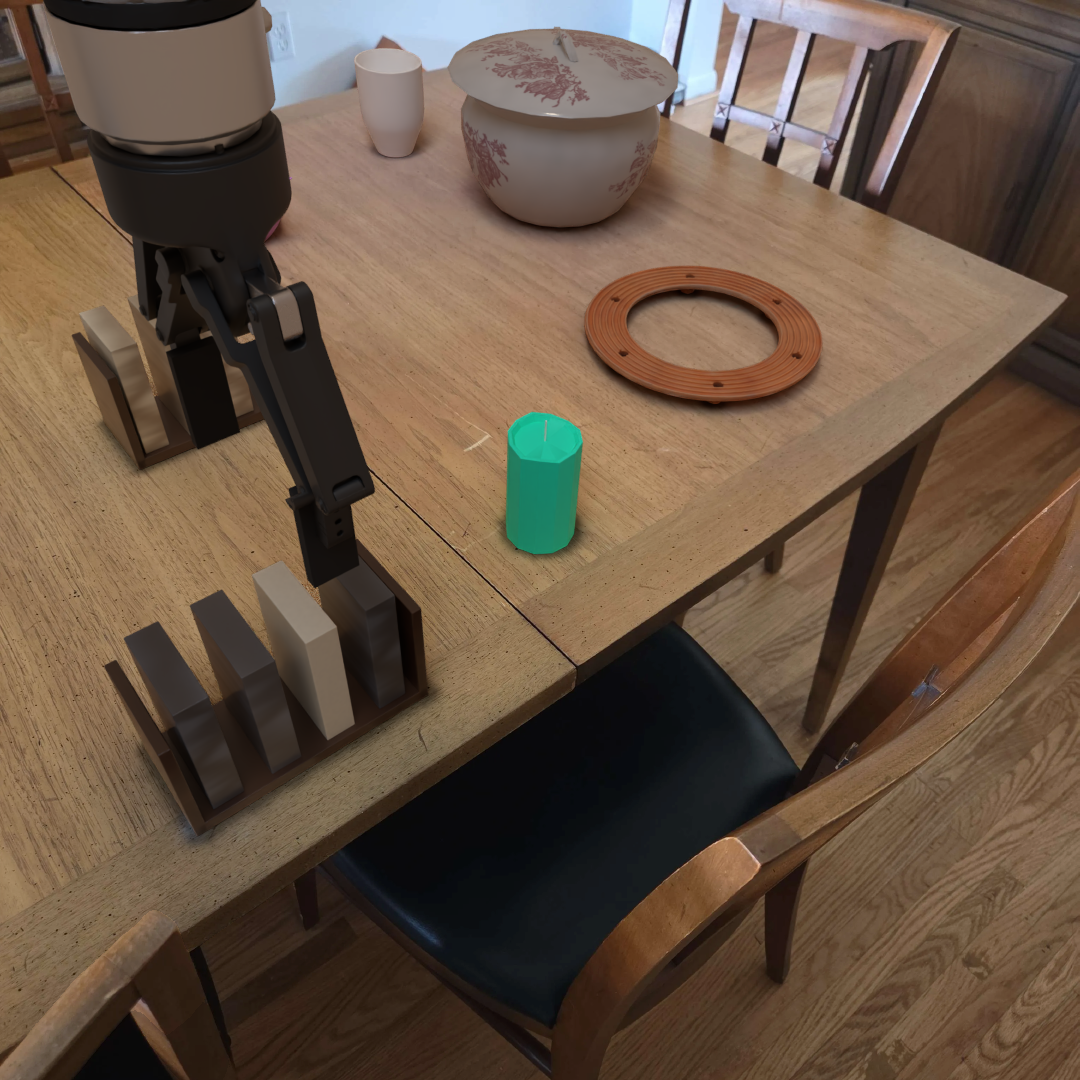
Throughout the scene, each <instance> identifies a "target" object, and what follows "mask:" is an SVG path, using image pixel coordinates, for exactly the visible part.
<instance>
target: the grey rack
mask: <svg viewBox="0 0 1080 1080" xmlns="http://www.w3.org/2000/svg"><path fill="white" fill-rule="evenodd" d="M356 543H357V550H358V557H359V564H360V565H359V566H357V567H355V568H353V569H351V570H349V571H347V572H345V573H343V574H342V575H340V576H338V577H336V578H334V579H332V580H330V581H328V582H326V583H324V584H322V585H320V586H318V587H317V590H318V596H319V600H320V607H321V608H322V609H323V611H324V612H325V613H326V614H327V615H328V617H329V618H330V619H331V620H332V621H333V623H334V624H335V625H336V626H337V631H338V636H339V642H340V647H341V652H342V658H343V663H344V668H345V674H346V679H347V684H348V690H349V695H350V700H351V706H352V711H353V716H354V722H355V724H354V725H352V726H351V727H349V728H348V729H346V730H344V731H343V732H341V733H339V734H338V735H336V736H334V737H333V738H331V739H329V740H327V739H326V738H325V736H324V735H323V734H322V732H321V731H320V729H319V728H318V727H317V725H316V724H315V723H314V721H313V720H312V719H311V717H310V716H309V715H308V713H307V712H306V711H305V709H304V708H303V707H302V705H301V704H300V703H299V701H298V700H297V698H296V697H295V696H294V694H293V693H292V692H291V690H290V689H289V688H288V686H287V685H286V684H285V682H284V681H283V680H282V678H281V677H280V676H279V673H278V669H277V665H276V662H275V659H274V656H273V654H271V653H270V651H269V650H268V649H267V647H266V646H265V645H264V643H263V642H262V640H261V639H260V638H259V636H258V635H257V634H256V632H255V631H254V630H253V628H252V627H251V626H250V625H249V623H248V622H247V620H246V619H245V618H244V617H243V615H242V614H241V613H240V611H239V610H238V609H237V607H236V606H235V605H234V603H233V601H232V600H231V599H230V597H229V596H228V595H227V593H226V592H225V590H223V589H220V590H219V589H218V591H215V592H213V593H211V594H210V595H207V596H205V597H203V598H201V599H199V600H197V601H195V602H193V603H190V604H189V609H190V611H191V614H192V617H193V620H194V622H195V625H196V628H197V631H198V633H199V636H200V639H201V642H202V644H203V647H204V650H205V653H206V655H207V658H208V661H209V664H210V667H211V669H212V672H213V675H214V677H215V680H216V683H217V686H218V689H219V692H220V694H221V697H222V699H221V700H219V701H217V702H215V703H214V704H213V703H212V701H211V699H210V695H209V694H208V693H207V692H206V689H204V686H203V685H202V684H201V683H200V681H199V680H198V677H196V675H195V673H194V672H193V671H192V669H191V667H190V666H189V664H188V663H187V661H186V660H185V658H184V656H183V655H182V654H181V652H180V651H179V650H178V648H177V647H176V645H175V643H174V642H173V641H172V639H171V638H170V636H169V635H168V633H167V632H166V630H165V629H164V627H163V625H162V624H161V622H160V621H158V620H157V621H154V622H153V623H150V624H148V625H147V626H144V627H143V628H140V629H139V630H136V631H134V632H132V633H129V634H128V635H126V636H124V637H123V641H124V644H125V645H126V648H127V650H128V652H129V654H130V656H131V658H132V660H133V663H134V665H135V667H136V669H137V672H138V673H139V676H140V678H141V681H142V682H143V685H144V686H145V689H146V690H147V693H148V695H149V697H150V700H151V701H152V704H153V706H154V708H155V710H156V712H157V714H158V717H159V719H160V721H161V723H162V725H163V728H164V729H165V730H164V731H163V732H161V730H160V728H159V727H158V725H157V724H156V722H155V720H154V719H153V716H152V715H151V714H150V712H149V710H148V709H147V707H146V705H145V704H144V702H143V700H142V699H141V697H140V696H139V694H138V692H137V690H136V689H135V688H134V685H133V684H132V683H131V680H130V679H129V678H128V676H127V674H126V673H125V671H124V669H123V668H122V666H121V664H120V663H119V661H118V660H117V659H114V660H111V661H110V662H108V663H106V664H104V665H103V667H104V670H105V671H106V673H107V675H108V677H109V679H110V681H111V684H112V686H113V688H114V689H115V692H116V693H117V695H118V697H119V700H120V701H121V703H122V705H123V707H124V709H125V712H126V714H127V715H128V717H129V719H130V722H131V724H132V725H133V727H134V729H135V732H136V733H137V735H138V737H139V739H140V741H141V743H142V745H143V747H144V749H145V751H146V753H147V755H148V756H149V758H150V760H151V762H152V763H153V765H154V766H155V768H156V769H157V772H158V773H159V775H160V776H161V778H162V780H163V782H164V783H165V785H166V787H167V788H168V790H169V792H170V794H171V795H172V797H173V799H174V801H175V802H176V804H177V805H178V807H179V809H180V810H181V812H182V814H183V816H184V817H185V819H186V820H187V822H188V824H189V826H190V828H191V829H192V830H193V832H194V834H195V836H196V837H200V836H201V835H203V834H204V833H206V832H207V831H210V830H211V829H212V828H215V827H216V826H217V825H219V824H220V823H222V822H224V821H225V820H227V819H229V818H230V817H232V816H234V815H235V814H237V813H239V812H240V811H242V810H244V809H245V808H247V807H248V806H250V805H251V804H254V803H255V802H257V801H258V800H260V799H262V798H263V797H265V796H266V795H268V794H270V793H271V792H272V791H274V790H276V789H278V788H279V787H280V786H282V785H284V784H286V783H288V782H289V781H291V780H292V779H293V778H295V777H297V776H299V775H300V774H302V773H303V772H305V771H307V770H309V769H310V768H312V767H313V766H315V765H317V764H318V763H320V762H321V761H323V760H325V759H327V758H328V757H329V756H331V755H333V754H335V753H337V752H338V751H339V750H341V749H342V748H344V747H346V746H347V745H350V744H351V743H352V742H354V741H356V740H357V739H359V738H361V737H363V735H366V734H368V732H370V731H372V730H374V729H375V728H377V727H378V726H380V725H382V724H383V723H385V722H387V721H388V720H389V719H392V718H393V717H394V716H396V715H398V714H399V713H402V712H403V711H404V710H406V709H408V708H409V707H411V706H412V705H414V704H416V703H418V702H419V701H421V700H422V699H424V698H426V697H427V696H429V686H428V674H427V663H426V662H427V661H426V651H425V650H426V649H425V638H424V623H423V612H422V607H421V606H420V605H419V604H418V603H417V601H415V600H414V599H413V598H412V596H411V595H410V594H409V593H408V592H407V591H406V590H405V589H404V587H403V586H402V585H401V584H400V583H399V582H398V581H397V580H396V578H394V577H393V576H392V574H390V572H389V571H388V570H387V569H386V568H385V567H384V566H383V565H382V563H380V561H379V560H378V559H377V558H376V557H375V556H374V555H373V553H371V552H370V550H369V549H368V548H367V547H366V546H365V545H364V544H363V543H362V542H361V541H360V540H359V538H356Z"/></svg>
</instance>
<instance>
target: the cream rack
mask: <svg viewBox="0 0 1080 1080" xmlns="http://www.w3.org/2000/svg"><path fill="white" fill-rule="evenodd" d="M126 299H127V303H128V306H129V309H130V312H131V315H132V318H133V321H134V325H135V328H136V331H137V334H138V337H139V340H140V343H141V346H142V350H143V353H144V357H145V359H146V362H147V365H148V368H149V372H150V374H151V375H150V376H151V378H152V381H153V384H154V387H155V391H156V394H157V395H154V391H153V389H152V386H151V383H150V380H149V376H148V374H147V371H146V368H145V364H144V361H143V357H142V354H141V352H140V349H139V346H138V343H137V342H136V340H135V339H134V337H132V336H131V334H130V333H129V332H128V331H127V330H126V328H125V327H124V326H123V325H122V324H121V323H120V321H118V319H117V318H116V317H115V316H114V315H113V313H111V311H110V310H109V309H108V308H107V307H106V306H105V305H100V306H97V307H94V308H90V309H88V310H84V311H80V312H79V313H78V315H79V318H80V321H81V324H82V326H83V329H84V331H85V334H86V337H87V338H86V337H85V335H84V334H83V333H82V332H80V331H79V332H75V333H73V334H71V338H72V341H73V343H74V346H75V348H76V352H77V354H78V356H79V359H80V361H81V364H82V367H83V369H84V373H85V375H86V378H87V380H88V382H89V385H90V388H91V390H92V394H93V396H94V399H95V402H96V404H97V406H98V410H99V411H100V414H101V417H102V420H103V422H104V425H105V426H106V427H107V429H108V430H109V431H110V433H111V434H112V436H113V437H114V438H115V439H116V440H117V442H118V443H119V445H120V446H121V448H122V449H123V450H124V451H125V453H126V454H127V455H128V457H129V458H130V459H131V461H132V462H133V464H135V466H136V467H137V469H138V470H140V471H141V470H144V469H145V468H149V467H150V466H153V465H155V464H158V463H160V462H162V461H165V460H167V459H169V458H172V457H174V456H177V455H179V454H182V453H185V452H187V451H189V450H192V449H194V448H196V446H195V445H194V444H193V442H192V439H191V436H190V432H189V429H188V426H187V422H186V419H185V415H184V412H183V409H182V405H181V402H180V399H179V395H178V392H177V388H176V385H175V382H174V378H173V375H172V372H171V368H170V365H169V361H168V358H167V355H166V352H167V351H169V350H171V348H170V345H168V346H164V345H163V344H162V342H161V341H159V339H158V338H157V335H156V331H155V328H156V327H155V325H156V321H157V319H153V320H150V321H147V320H146V318H145V317H144V316H143V315H142V314H141V312H140V310H139V307H140V306H139V302H138V293H136V294H134V295H130V296H128V297H127V298H126ZM209 336H212V334H211V331H207V332H205V333H202V334H200V338H201V339H203V338H206V337H209ZM235 340H236V341H237V342H239V339H238V337H235ZM221 356H222V354H221ZM222 360H223V364H224V368H225V372H226V376H227V380H228V385H229V389H230V393H231V397H232V401H233V405H234V409H235V413H236V417H237V421H238V425H239V429H240V430H241V429H243V428H245V427H248V426H250V425H253V424H256V423H257V422H260V421H263V420H265V419H264V417H263V415H262V413H261V411H260V409H259V407H258V405H257V403H256V400H255V398H254V396H253V394H252V392H251V390H250V388H249V386H248V384H247V381H246V379H245V377H244V375H243V373H242V371H241V370H240V369H239V368H236V367H232V366H230V365H228V364H227V363H226V362H225V360H224V359H223V357H222Z"/></svg>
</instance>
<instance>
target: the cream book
mask: <svg viewBox="0 0 1080 1080" xmlns="http://www.w3.org/2000/svg"><path fill="white" fill-rule="evenodd" d="M251 579H252V582H253V586H254V591H255V594H256V597H257V601H258V604H259V608H260V612H261V616H262V619H263V622H264V626H265V630H266V633H267V634H266V635H267V637H268V641H269V645H270V647H271V648H270V649H271V651H272V656H273V658H274V659H275V662H276V665H277V669H278V673H279V676H280V677H281V678H282V680H283V681H284V682H285V684H286V685H287V686H288V688H289V689H290V690H291V692H292V693H293V694H294V696H295V697H296V698H297V700H298V701H299V703H300V704H301V705H302V707H303V708H304V709H305V711H306V712H307V713H308V715H309V716H310V717H311V719H312V720H313V721H314V723H315V724H316V725H317V727H318V728H319V729H320V731H321V732H322V734H323V735H324V736H325V738H326V739H327V740H329V739H331V738H333V737H334V736H336V735H338V734H339V733H341V732H343V731H344V730H346V729H348V728H349V727H351V726H352V725H354V724H355V722H354V716H353V711H352V706H351V700H350V695H349V690H348V684H347V679H346V674H345V668H344V663H343V658H342V652H341V647H340V642H339V636H338V631H337V626H336V625H335V624H334V623H333V621H332V620H331V619H330V618H329V617H328V615H327V614H326V613H325V612H324V611H323V609H322V606H321V605H320V604H319V603H318V602H317V601H316V600H315V598H314V597H313V596H312V595H311V593H310V592H309V591H308V590H307V589H306V587H305V586H304V584H302V582H301V581H300V580H299V579H298V578H297V576H296V575H295V574H294V573H293V572H292V570H291V569H290V568H289V567H288V566H287V564H286V563H285V561H283V560H282V559H281V560H278V561H277V562H275V563H273V564H270V565H268V566H266V567H264V568H262V569H260V570H258V571H255V572H254V573H252V574H251Z"/></svg>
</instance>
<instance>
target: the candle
mask: <svg viewBox="0 0 1080 1080" xmlns="http://www.w3.org/2000/svg"><path fill="white" fill-rule="evenodd" d="M506 439H507V441H506V442H507V446H506V447H507V448H506V490H505V491H506V493H505V530H506V538H507V540H509V541H510V542H511V543H512V544H513V545H514V546H515V547H516V548H517V549H519V550H521V551H524V552H527V553H530V554H532V555H545V554H555V553H556V552H558V551H561V550H562V549H564V548H566V547H568V545H569V543H570V542H571V540H572V539H573V537H574V535H575V529H576V519H577V509H578V508H577V507H578V497H579V488H580V487H579V486H580V478H581V477H580V476H581V467H582V457H583V448H584V447H583V446H584V441H583V435H582V432H581V429H580V428H578V427H577V426H576V425H575V424H573V423H572V422H571V421H569V420H568V419H565V418H563V417H560V416H558V415H556V414H553V413H549V412H539V411H538V412H537V411H531V412H529V413H527V414H524V415H523V416H521V417H519V418H517V419H515V421H514V422H513V423H512V424H511V426H510V427H509V428H508V430H507V438H506Z"/></svg>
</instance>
